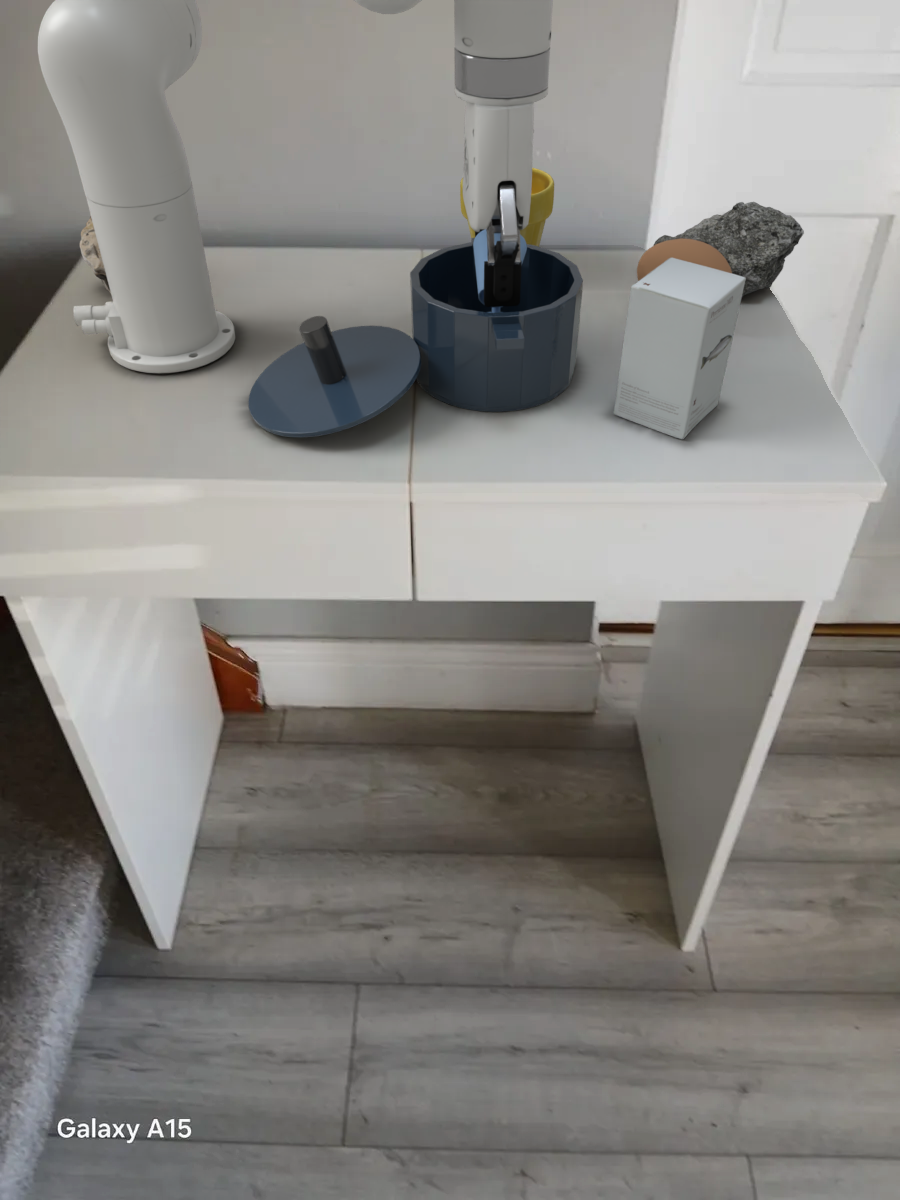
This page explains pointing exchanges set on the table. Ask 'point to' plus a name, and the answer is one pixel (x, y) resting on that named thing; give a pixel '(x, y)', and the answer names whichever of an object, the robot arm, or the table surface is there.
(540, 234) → the flower pot
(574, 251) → the table surface
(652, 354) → the white packaging box
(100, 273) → the rock
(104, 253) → the robot arm
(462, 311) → the pot
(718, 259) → the egg
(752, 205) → the rock
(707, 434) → the table surface
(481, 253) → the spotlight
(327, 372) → the pot lid
